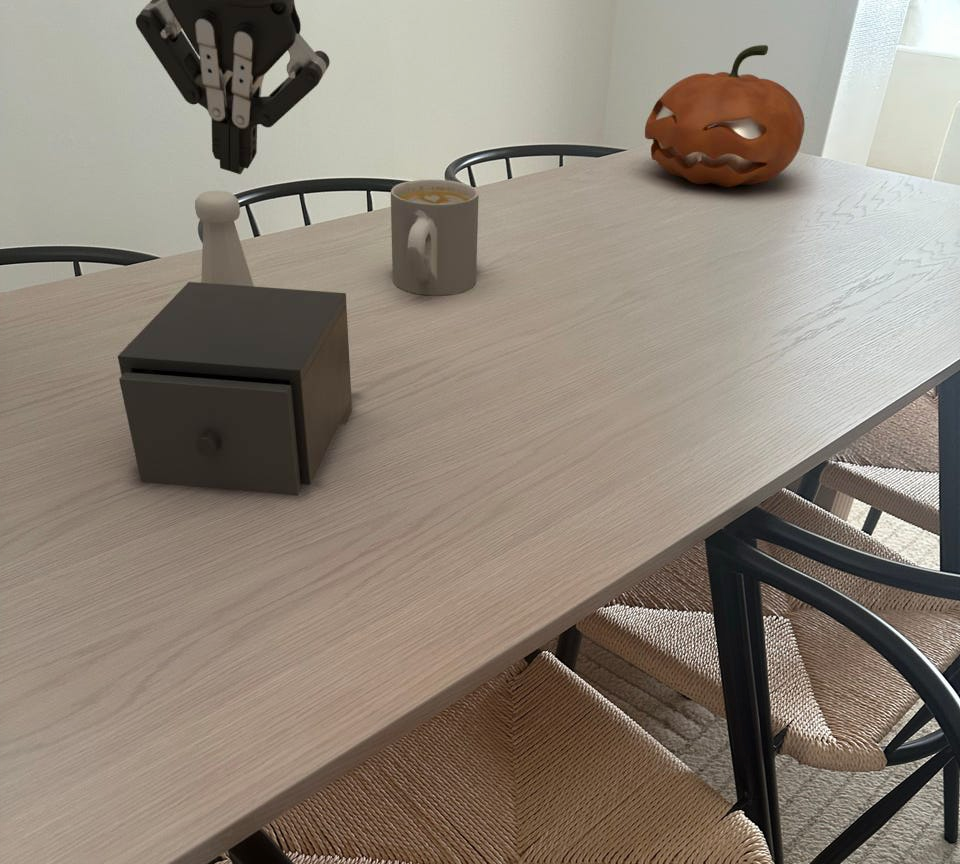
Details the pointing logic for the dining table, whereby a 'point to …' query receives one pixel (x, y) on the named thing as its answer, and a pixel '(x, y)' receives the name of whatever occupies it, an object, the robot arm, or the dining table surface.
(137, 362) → the dark grey drawer box
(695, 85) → the pumpkin
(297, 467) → the dark grey drawer
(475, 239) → the coffee mug
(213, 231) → the salt shaker
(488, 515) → the dining table surface
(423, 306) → the dining table surface
